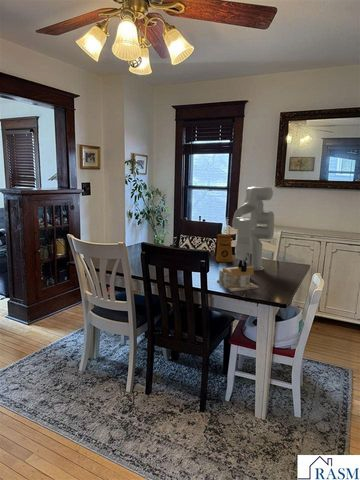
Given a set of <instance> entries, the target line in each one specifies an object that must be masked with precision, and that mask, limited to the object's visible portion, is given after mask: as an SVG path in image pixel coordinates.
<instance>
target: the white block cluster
mask: <svg viewBox="0 0 360 480" xmlns="http://www.w3.org/2000/svg"><path fill="white" fill-rule="evenodd" d="M225 268H226V269H228V270H230V271H231V268H238V267H236V266H233V267H225ZM218 272H219V275H218V279H217V280H216V283H218V284H220V285H221V286H222V287H224V288H226V289H227V290H228V291H229V292H238V291H246V290H255V289H256V290H257V289H259V285H256V284H255V283H253V282H251V278H250V275H241V276H231V275H229V274H227V273H226V272H224V271H223V269H219V271H218Z"/></svg>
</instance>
